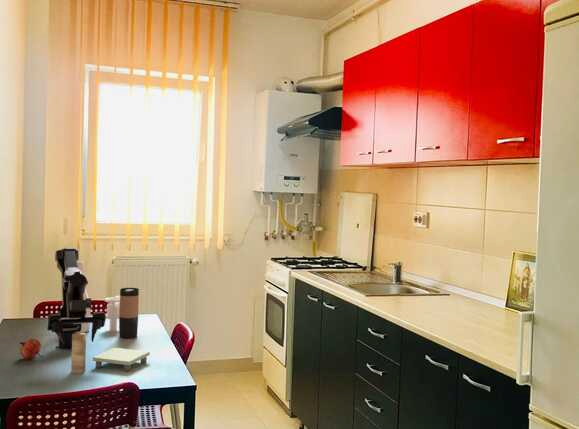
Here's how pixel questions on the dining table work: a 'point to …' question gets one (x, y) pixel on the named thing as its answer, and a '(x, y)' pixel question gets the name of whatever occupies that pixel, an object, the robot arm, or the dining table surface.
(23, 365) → the dining table surface
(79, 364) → the post
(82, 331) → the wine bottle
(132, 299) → the travel mug
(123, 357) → the peg shelf
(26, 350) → the pomegranate
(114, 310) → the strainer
